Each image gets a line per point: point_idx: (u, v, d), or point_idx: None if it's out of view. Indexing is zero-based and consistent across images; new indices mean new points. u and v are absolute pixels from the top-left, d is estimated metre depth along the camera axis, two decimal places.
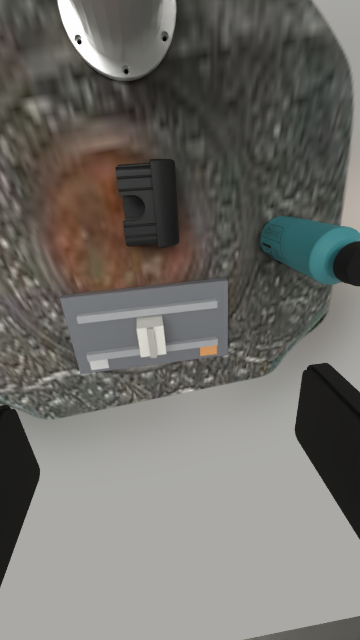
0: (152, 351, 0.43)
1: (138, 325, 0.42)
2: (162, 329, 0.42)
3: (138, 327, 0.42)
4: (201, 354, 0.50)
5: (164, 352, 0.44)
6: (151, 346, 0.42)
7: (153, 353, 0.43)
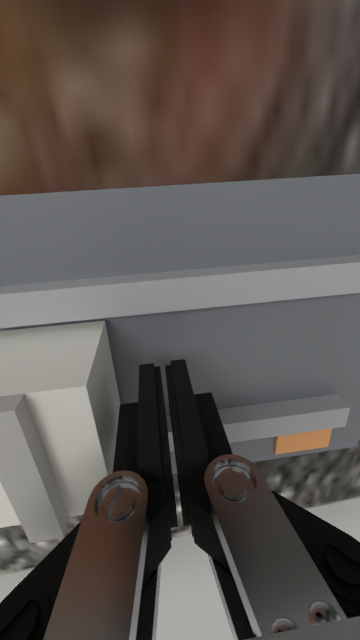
0: (33, 516, 0.08)
1: None
2: (82, 405, 0.07)
3: None
4: (279, 449, 0.15)
5: None
6: (25, 496, 0.08)
7: (42, 524, 0.08)
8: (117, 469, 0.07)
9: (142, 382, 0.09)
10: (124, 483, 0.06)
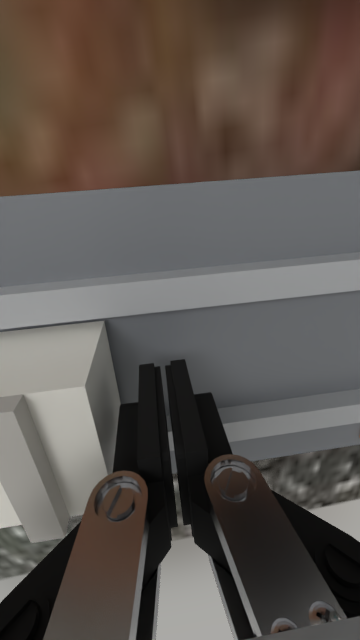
0: (34, 517, 0.08)
1: None
2: (81, 405, 0.07)
3: None
4: None
5: None
6: (25, 496, 0.08)
7: (43, 524, 0.08)
8: (117, 469, 0.07)
9: (142, 382, 0.09)
10: (124, 483, 0.06)
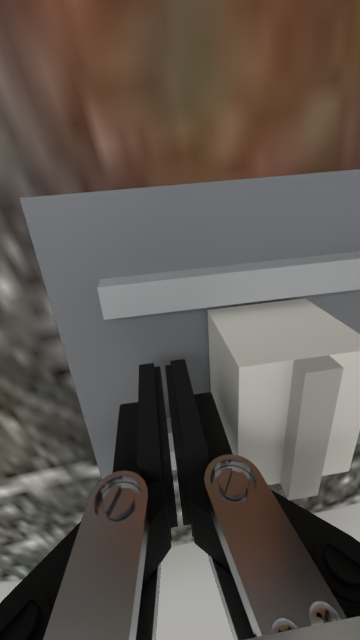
0: (304, 473, 0.09)
1: (237, 345, 0.08)
2: None
3: (244, 356, 0.08)
4: None
5: (343, 465, 0.10)
6: (308, 453, 0.08)
7: (307, 482, 0.09)
8: (117, 469, 0.07)
9: (142, 382, 0.09)
10: (124, 483, 0.06)
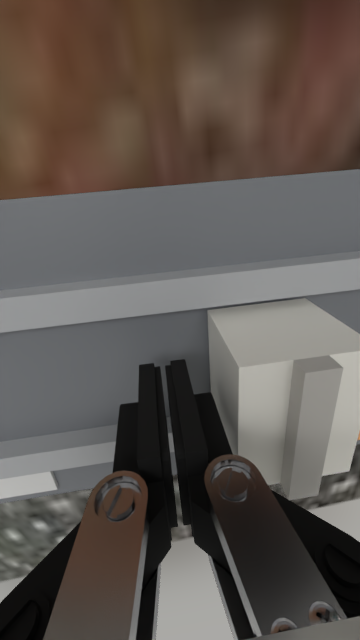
0: (304, 474, 0.09)
1: (237, 346, 0.08)
2: None
3: (243, 356, 0.08)
4: (359, 435, 0.15)
5: (343, 465, 0.10)
6: (308, 453, 0.08)
7: (307, 482, 0.09)
8: (117, 469, 0.07)
9: (142, 382, 0.09)
10: (124, 483, 0.06)
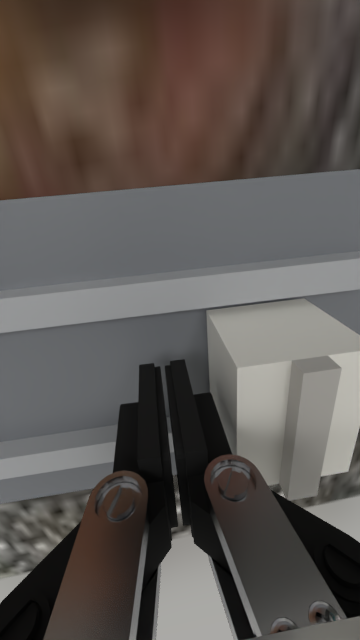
0: (303, 474, 0.09)
1: (235, 346, 0.08)
2: None
3: (242, 356, 0.08)
4: None
5: (342, 466, 0.10)
6: (307, 453, 0.08)
7: (306, 482, 0.09)
8: (117, 469, 0.07)
9: (142, 382, 0.09)
10: (124, 483, 0.06)
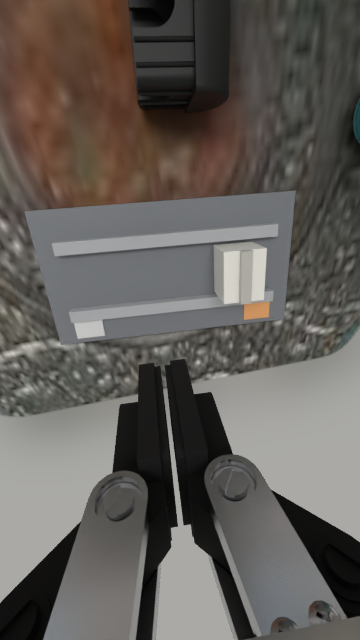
0: (245, 292, 0.26)
1: (223, 249, 0.26)
2: (264, 254, 0.26)
3: (225, 250, 0.26)
4: (245, 317, 0.33)
5: (261, 296, 0.27)
6: (246, 283, 0.26)
7: (246, 296, 0.27)
8: (117, 469, 0.07)
9: (142, 382, 0.09)
10: (124, 483, 0.06)
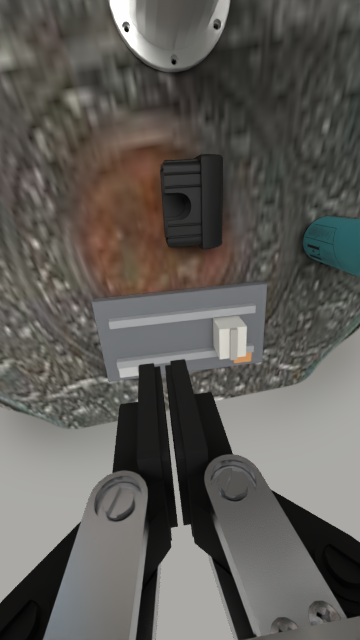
0: (233, 353, 0.41)
1: (219, 326, 0.41)
2: (245, 330, 0.40)
3: (220, 327, 0.40)
4: (235, 361, 0.47)
5: (244, 354, 0.42)
6: (233, 347, 0.41)
7: (234, 355, 0.41)
8: (117, 469, 0.07)
9: (142, 382, 0.09)
10: (124, 483, 0.06)
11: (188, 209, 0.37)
